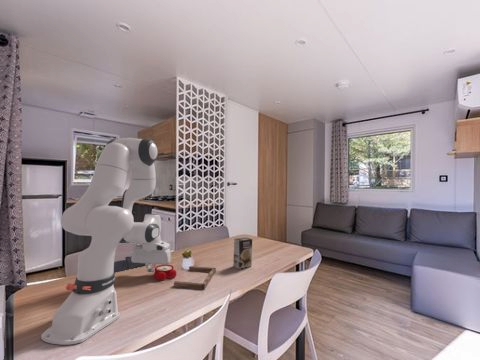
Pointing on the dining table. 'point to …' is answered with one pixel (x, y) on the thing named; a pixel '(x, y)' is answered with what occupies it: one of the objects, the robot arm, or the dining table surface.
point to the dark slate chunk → (126, 265)
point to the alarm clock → (164, 272)
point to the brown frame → (197, 285)
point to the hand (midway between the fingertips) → (150, 271)
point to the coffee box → (242, 252)
